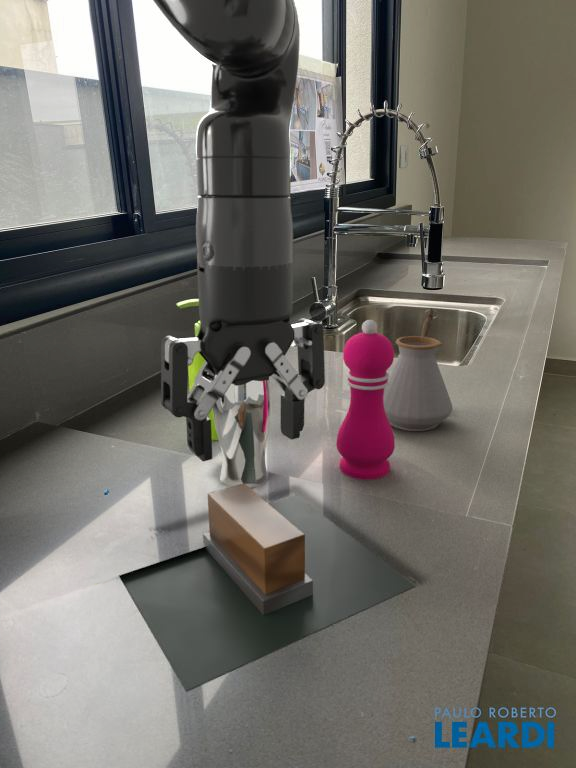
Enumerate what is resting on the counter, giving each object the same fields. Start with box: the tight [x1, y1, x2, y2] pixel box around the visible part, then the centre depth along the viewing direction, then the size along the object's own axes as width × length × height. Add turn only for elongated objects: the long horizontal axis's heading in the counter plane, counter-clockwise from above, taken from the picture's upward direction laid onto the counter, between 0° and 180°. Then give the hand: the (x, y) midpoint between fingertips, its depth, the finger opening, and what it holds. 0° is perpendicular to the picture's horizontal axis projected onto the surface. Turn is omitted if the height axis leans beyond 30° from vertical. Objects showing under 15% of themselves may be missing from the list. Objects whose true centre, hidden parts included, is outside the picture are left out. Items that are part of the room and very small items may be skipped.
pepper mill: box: [335, 319, 396, 481], centre depth 73 cm, size 7×7×20 cm
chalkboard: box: [118, 493, 416, 692], centre depth 57 cm, size 22×20×1 cm
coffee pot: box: [383, 307, 453, 432], centre depth 95 cm, size 21×12×15 cm, turn 160°
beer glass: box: [213, 374, 272, 489], centre depth 72 cm, size 7×7×15 cm
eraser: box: [202, 483, 313, 615], centre depth 55 cm, size 5×12×6 cm, turn 32°
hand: (248, 446), depth 52 cm, fingers open, 8 cm apart
